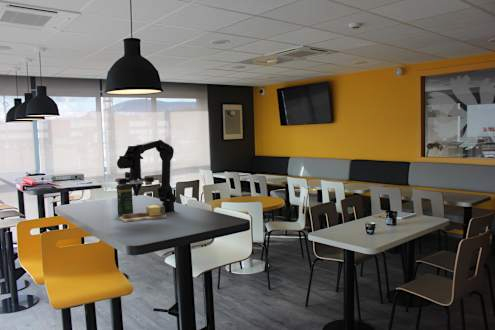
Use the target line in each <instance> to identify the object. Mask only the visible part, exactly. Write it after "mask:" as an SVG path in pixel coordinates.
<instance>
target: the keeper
mask: <svg viewBox="0 0 495 330" xmlns="http://www.w3.org/2000/svg"><path fill="white" fill-rule="evenodd" d="M145 209H146V211H145V212H149V216H154V215H161V207H160V206H157V204H155V205H146V208H145Z"/></svg>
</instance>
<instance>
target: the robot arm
mask: <svg viewBox="0 0 495 330" xmlns="http://www.w3.org/2000/svg"><path fill="white" fill-rule="evenodd" d="M151 149H152V150H153V149H155V150H156V151H157V152H158V154H159V157H160V159H161V185H160V186H159V187H157V197H158V198H159V201H160V202H162V203H161V205H162V206H165V213H173V212H175V211H176V210H175V202H176V201H177V197H176V195H175V194H174V192H173V188H172V185H171V161H172V159H173V157H174V154H175V153H174V151H175V148H174V147H173V146H172V145H170V144H168V143H167V142H164V141H163V140H162V139H154V140H152V141H148V142H145V143H144V142H143V143H141V144H129V145H128V146H127V149H126V151H125V153H124V155H119V158H118V159H117V161H116V165H117V167H118V169H120V170H122V169H123V170H125V169H129V171H125V172H124V177H122V178H118V179H117V185H118V184H126V183H127V184H129V185H131V186H132V192H134V195H135V196H136V197H137V196H138V195H139V192H140V189H141V188H142V186H143V185H144V184H145V183H144V182H147V183H154V182H155V178H154V177H153V176H144V178H143V177H142V166H141V164H142V163H141V161H142V160H144V157H143V156H142V154H144V153H145V152H146V151H149V150H151Z"/></svg>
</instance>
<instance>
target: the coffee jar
mask: <svg viewBox="0 0 495 330" xmlns="http://www.w3.org/2000/svg"><path fill="white" fill-rule="evenodd" d="M116 195H117V197H116V198H117V215H120V216H122V215H124V214H133V213H134V205H133V188H132V186H131V185H129V184H128V183H126V184H118V183H117V185H116Z"/></svg>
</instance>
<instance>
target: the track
mask: <svg viewBox="0 0 495 330" xmlns="http://www.w3.org/2000/svg"><path fill="white" fill-rule="evenodd" d="M156 205H157V206H160V207H161V215H154V216H149V212H147V211H143V212H135V213H134V212H133V214H124V215H121V216H120V217H119V220H121V221H122V222H124V223H130V222H138V221H145V220H154V219H161V218H163V219H164V218H167V215H166V212H165V206H162V204H158V203H157V204H156Z"/></svg>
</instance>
